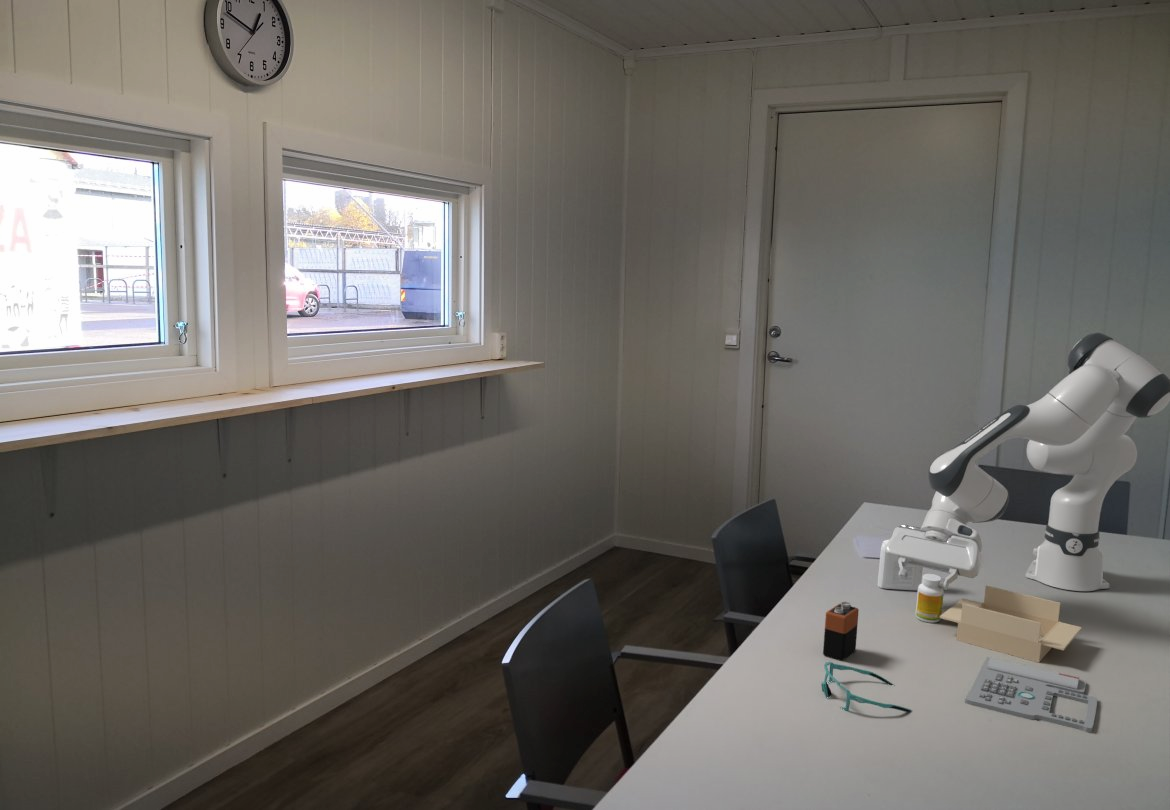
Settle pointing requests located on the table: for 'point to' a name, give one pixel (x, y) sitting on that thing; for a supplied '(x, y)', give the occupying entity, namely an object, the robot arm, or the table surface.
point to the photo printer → (890, 573)
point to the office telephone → (1029, 692)
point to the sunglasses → (849, 695)
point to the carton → (1011, 624)
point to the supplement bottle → (929, 599)
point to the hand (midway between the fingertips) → (921, 582)
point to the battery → (840, 631)
